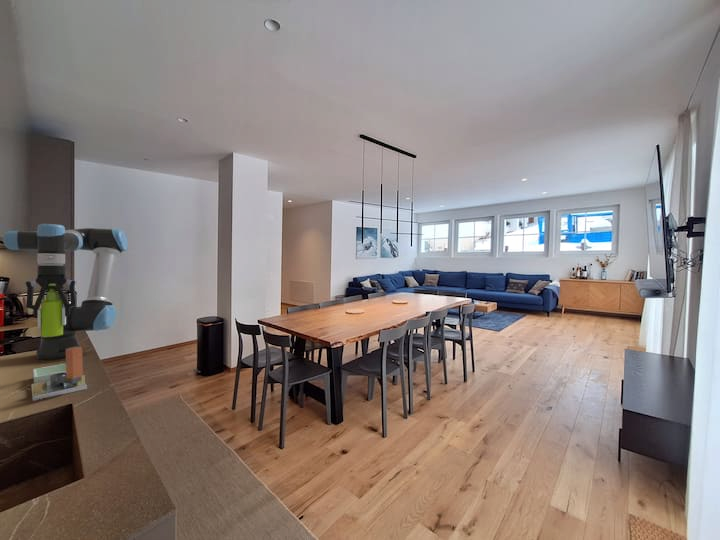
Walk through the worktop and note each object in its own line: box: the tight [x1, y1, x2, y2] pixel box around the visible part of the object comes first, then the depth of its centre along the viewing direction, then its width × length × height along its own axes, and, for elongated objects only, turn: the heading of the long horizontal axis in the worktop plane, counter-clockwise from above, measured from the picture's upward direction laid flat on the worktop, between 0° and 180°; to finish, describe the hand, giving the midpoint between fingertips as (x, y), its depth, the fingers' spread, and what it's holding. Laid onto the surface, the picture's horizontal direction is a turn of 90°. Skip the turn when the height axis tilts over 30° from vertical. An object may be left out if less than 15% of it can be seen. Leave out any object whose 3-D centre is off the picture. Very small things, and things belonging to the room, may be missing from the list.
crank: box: [50, 346, 84, 386], centre depth 107 cm, size 11×4×13 cm, turn 78°
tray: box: [32, 362, 66, 384], centre depth 117 cm, size 12×12×4 cm
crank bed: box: [31, 374, 88, 402], centre depth 107 cm, size 14×13×4 cm
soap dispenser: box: [40, 283, 64, 337], centre depth 118 cm, size 6×7×20 cm
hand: (52, 325), depth 118 cm, fingers closed on soap dispenser, 6 cm apart
